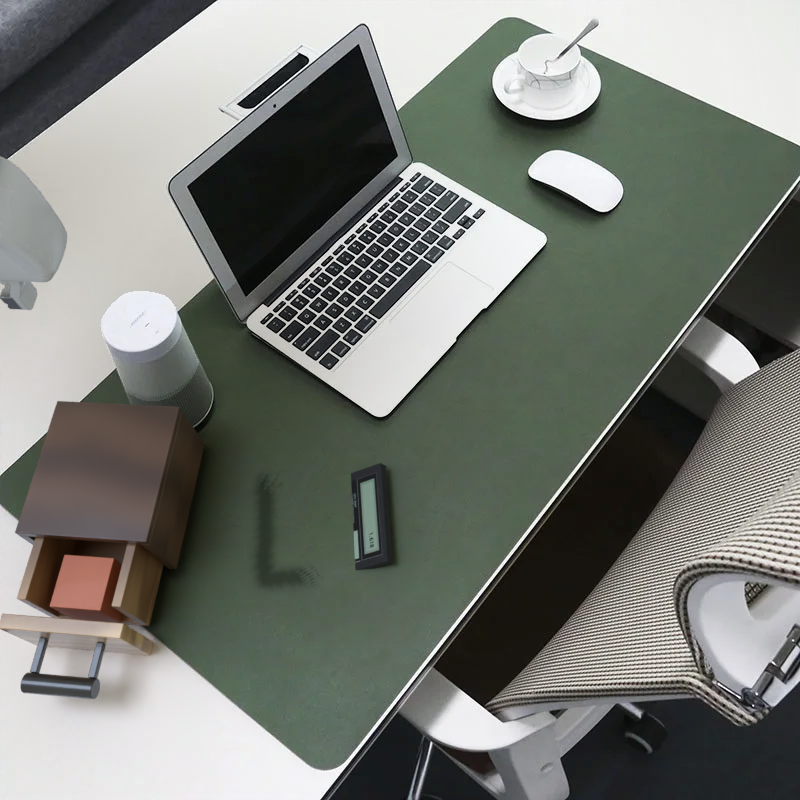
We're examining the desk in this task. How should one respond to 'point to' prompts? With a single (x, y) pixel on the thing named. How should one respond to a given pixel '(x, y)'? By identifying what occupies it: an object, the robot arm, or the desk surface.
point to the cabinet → (115, 477)
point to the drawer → (97, 636)
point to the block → (87, 588)
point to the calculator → (371, 518)
